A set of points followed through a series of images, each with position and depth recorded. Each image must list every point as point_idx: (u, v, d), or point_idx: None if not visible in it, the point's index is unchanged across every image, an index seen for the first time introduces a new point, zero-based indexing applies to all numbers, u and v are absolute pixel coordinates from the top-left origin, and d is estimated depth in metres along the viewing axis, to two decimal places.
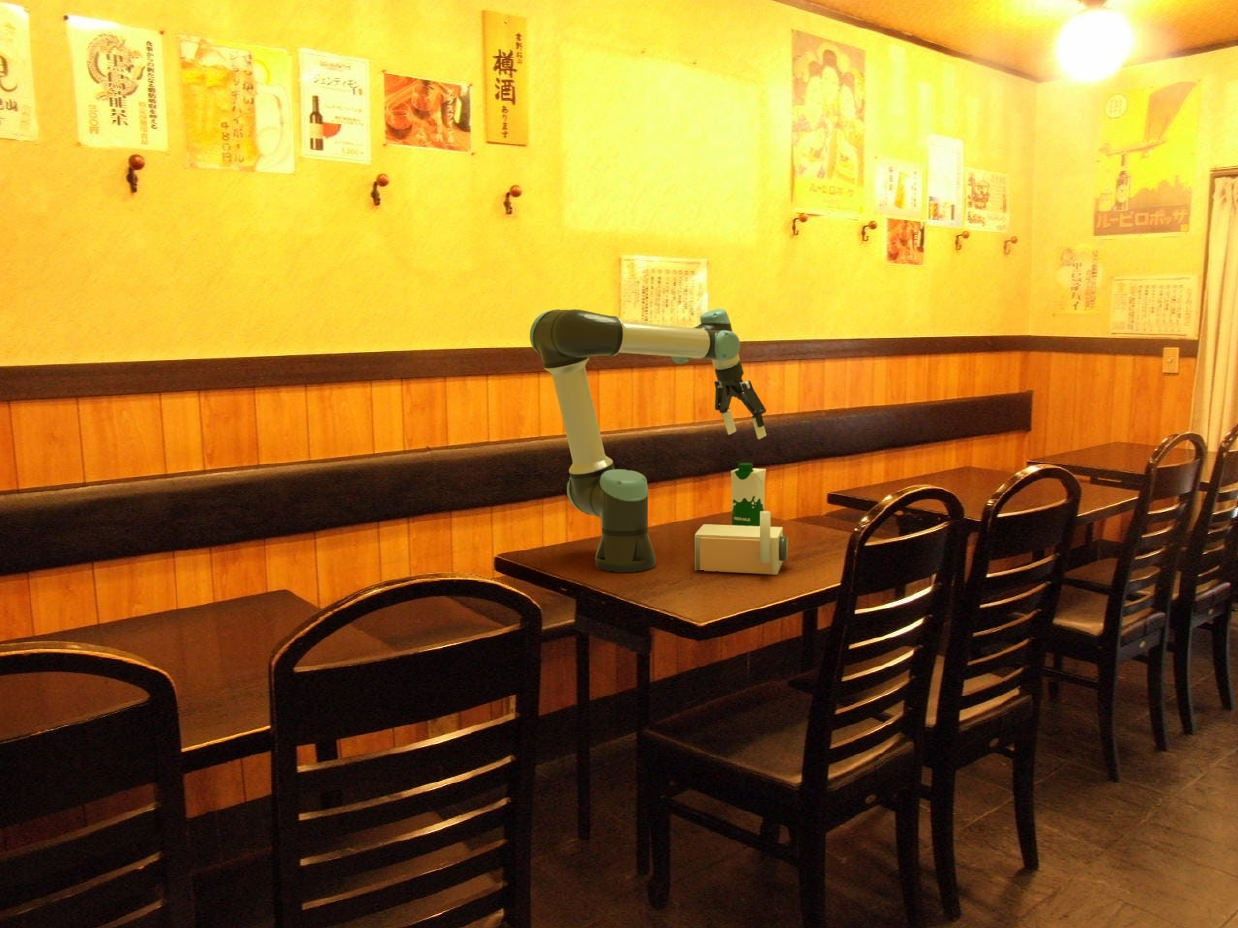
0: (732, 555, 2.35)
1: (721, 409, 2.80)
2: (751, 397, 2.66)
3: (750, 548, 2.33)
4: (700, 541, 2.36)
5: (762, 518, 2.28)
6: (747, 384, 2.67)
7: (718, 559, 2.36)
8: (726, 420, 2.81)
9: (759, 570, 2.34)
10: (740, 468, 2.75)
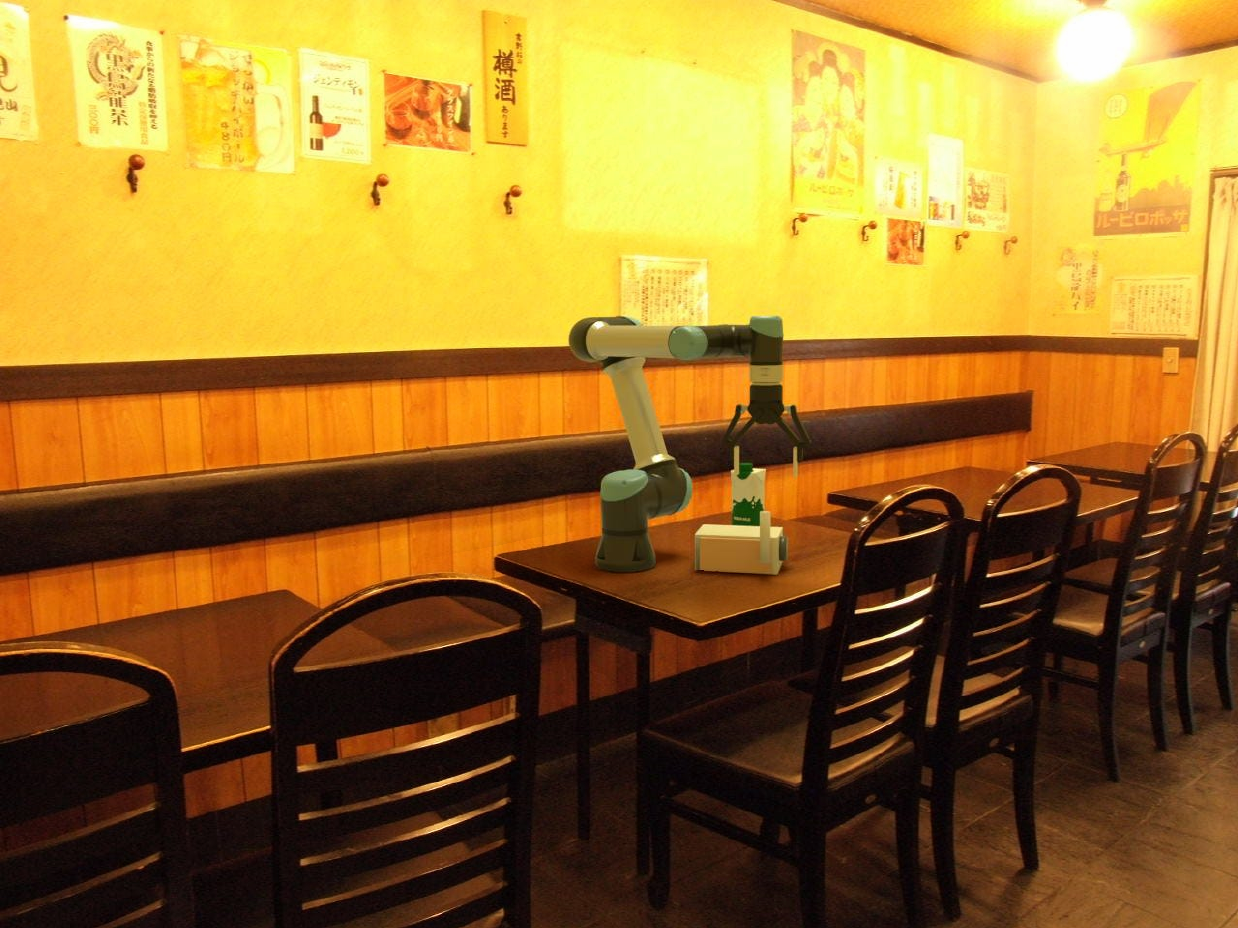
0: (732, 555, 2.35)
1: None
2: None
3: (750, 548, 2.33)
4: (700, 541, 2.36)
5: (762, 518, 2.28)
6: None
7: (718, 559, 2.36)
8: None
9: (759, 570, 2.34)
10: (740, 468, 2.75)
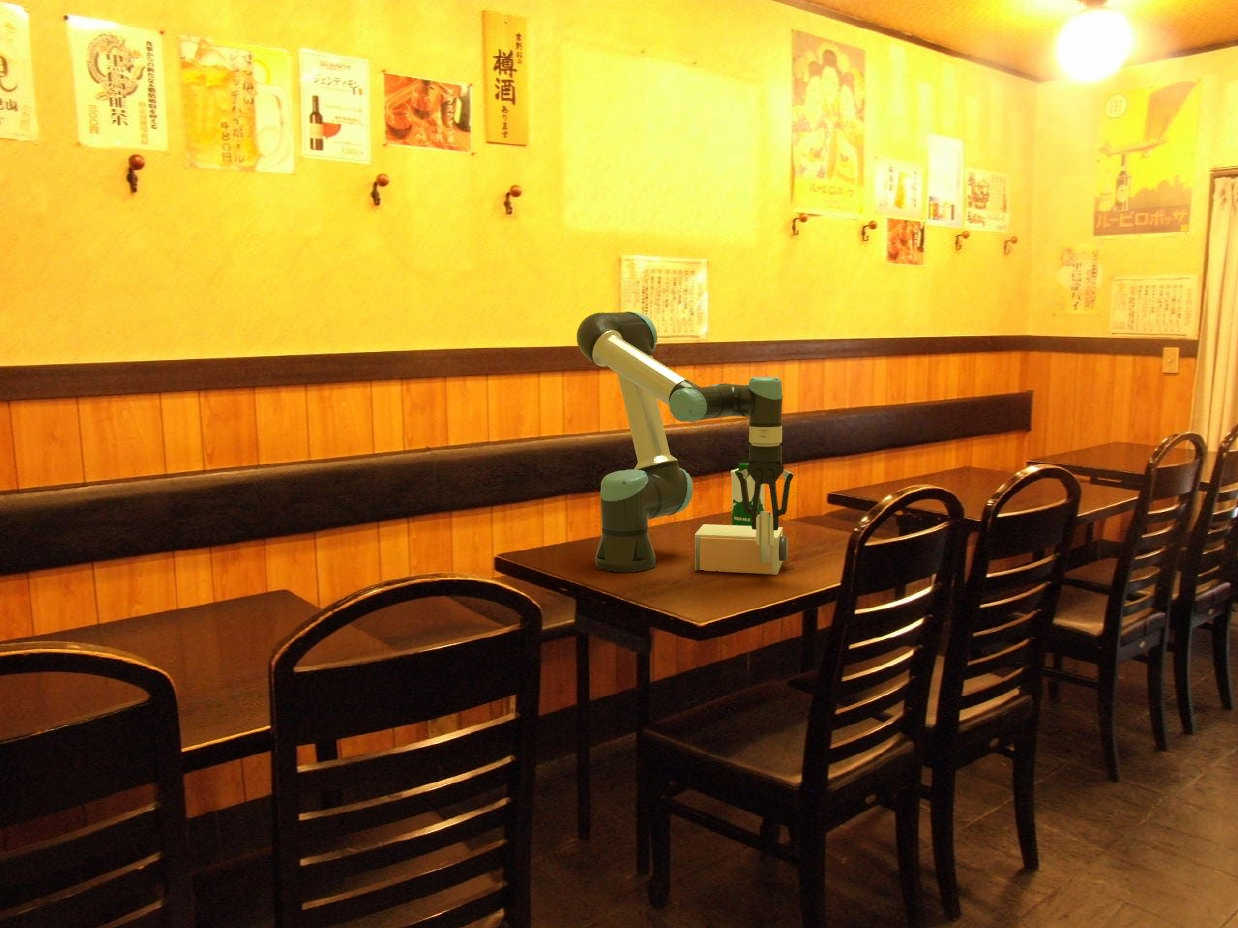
0: (732, 555, 2.35)
1: None
2: None
3: (750, 548, 2.33)
4: (700, 541, 2.36)
5: (762, 518, 2.28)
6: None
7: (718, 559, 2.36)
8: None
9: (759, 570, 2.34)
10: (740, 468, 2.75)
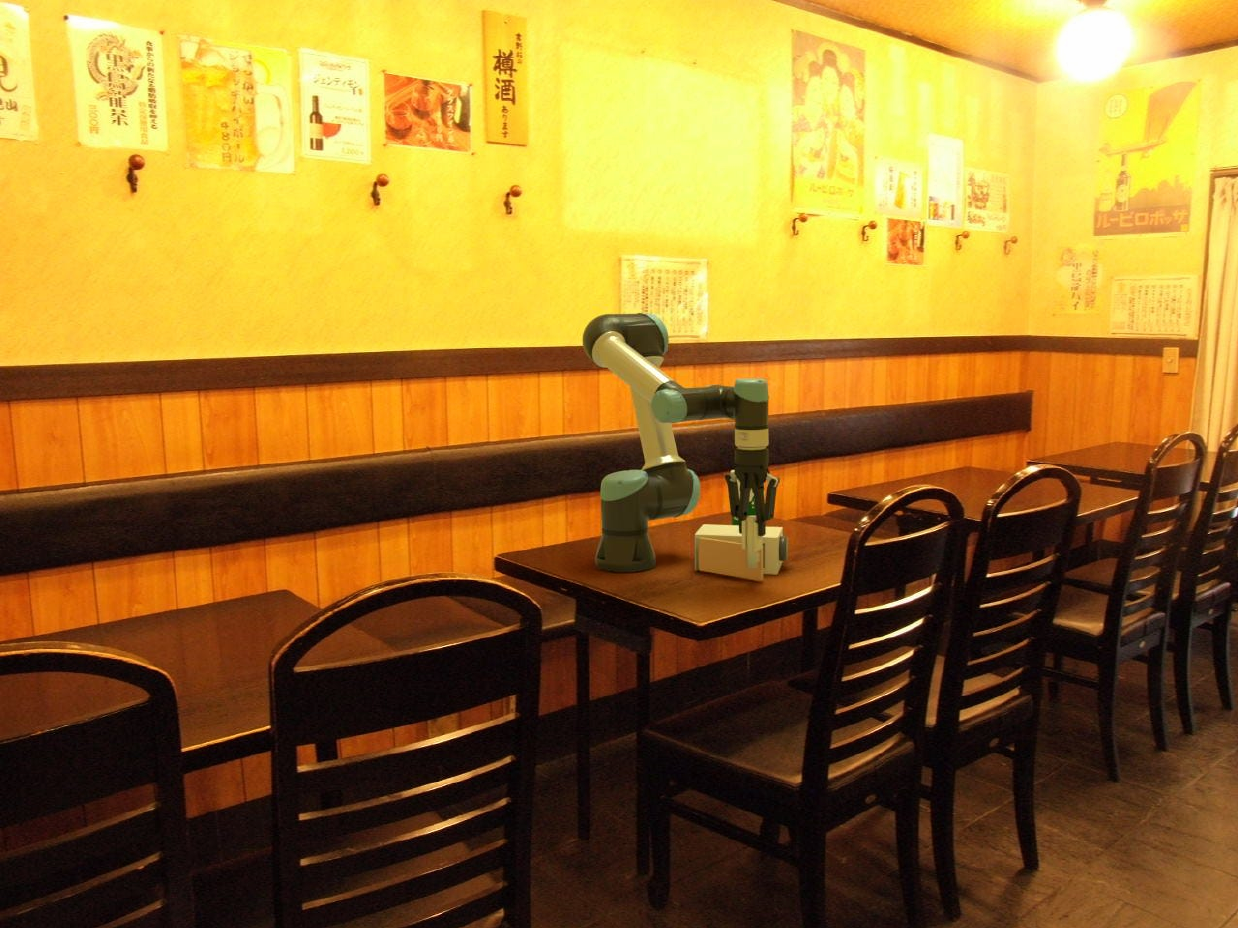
0: (727, 558, 2.32)
1: None
2: None
3: (743, 552, 2.29)
4: (699, 541, 2.36)
5: (748, 523, 2.23)
6: None
7: (715, 561, 2.34)
8: None
9: (751, 576, 2.29)
10: None
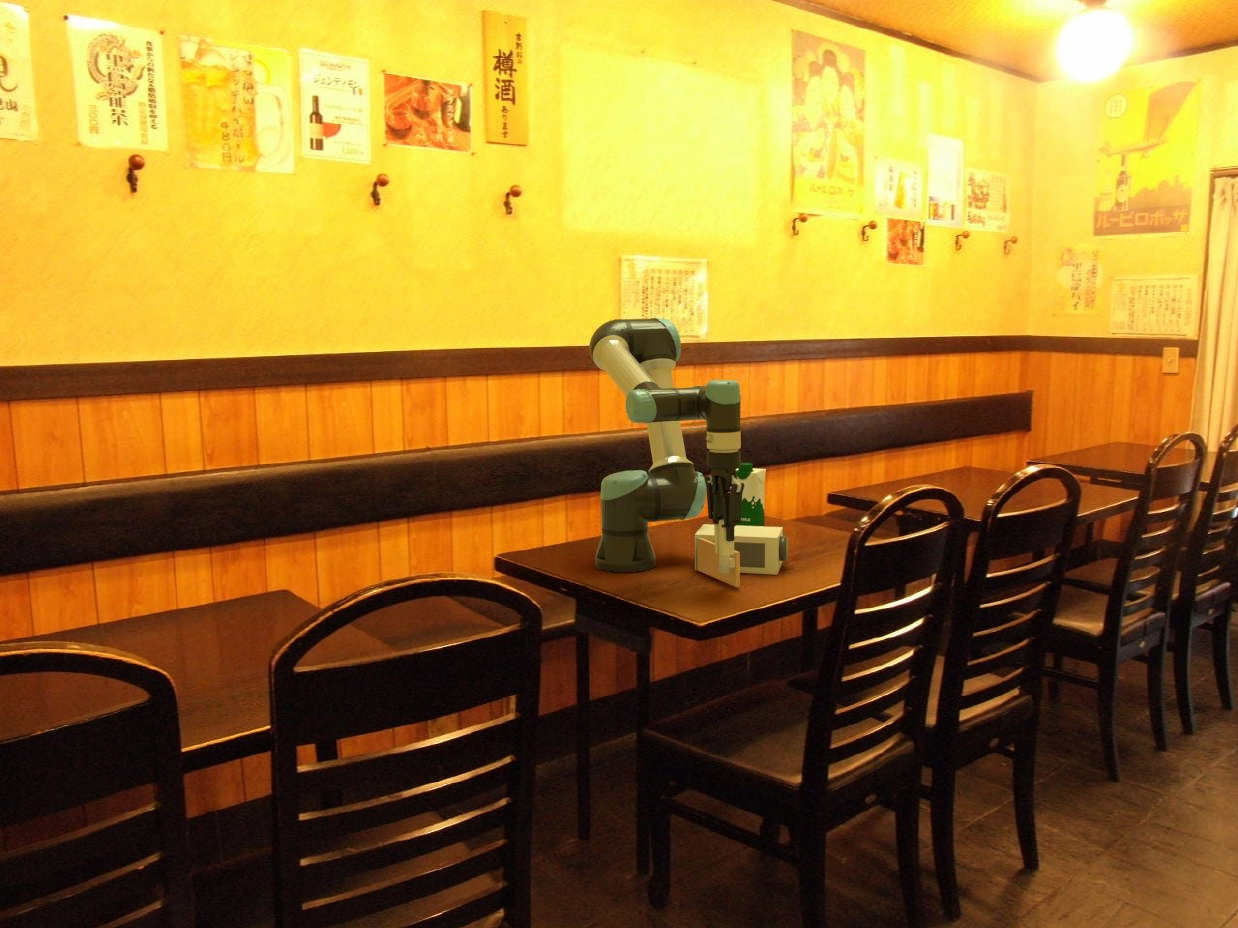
0: (714, 560, 2.30)
1: None
2: None
3: None
4: (697, 541, 2.36)
5: (719, 526, 2.20)
6: None
7: (707, 562, 2.33)
8: None
9: (729, 581, 2.25)
10: (740, 468, 2.75)
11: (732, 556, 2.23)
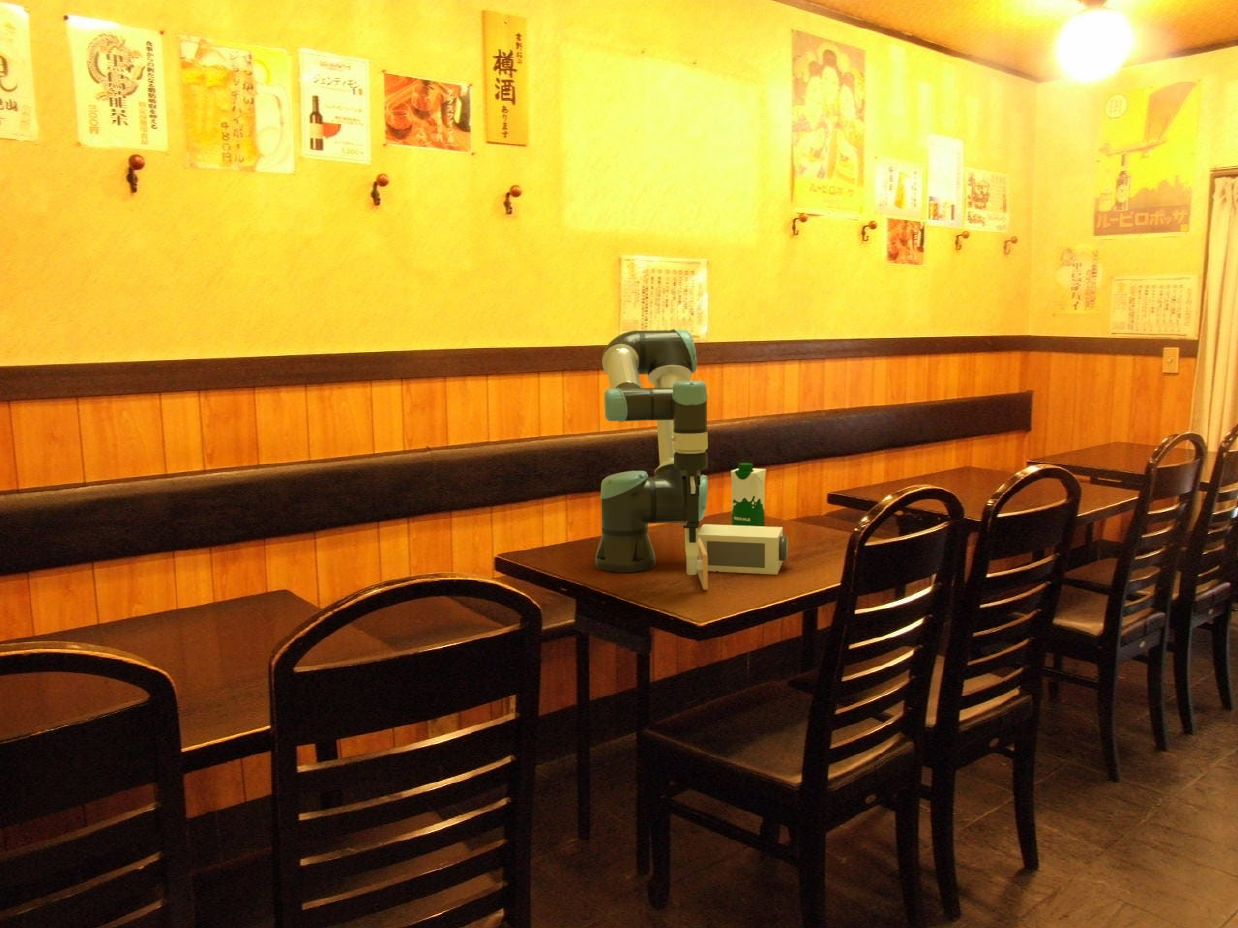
0: None
1: None
2: None
3: (701, 558, 2.25)
4: None
5: None
6: None
7: None
8: None
9: (702, 583, 2.23)
10: (740, 468, 2.75)
11: (702, 558, 2.21)
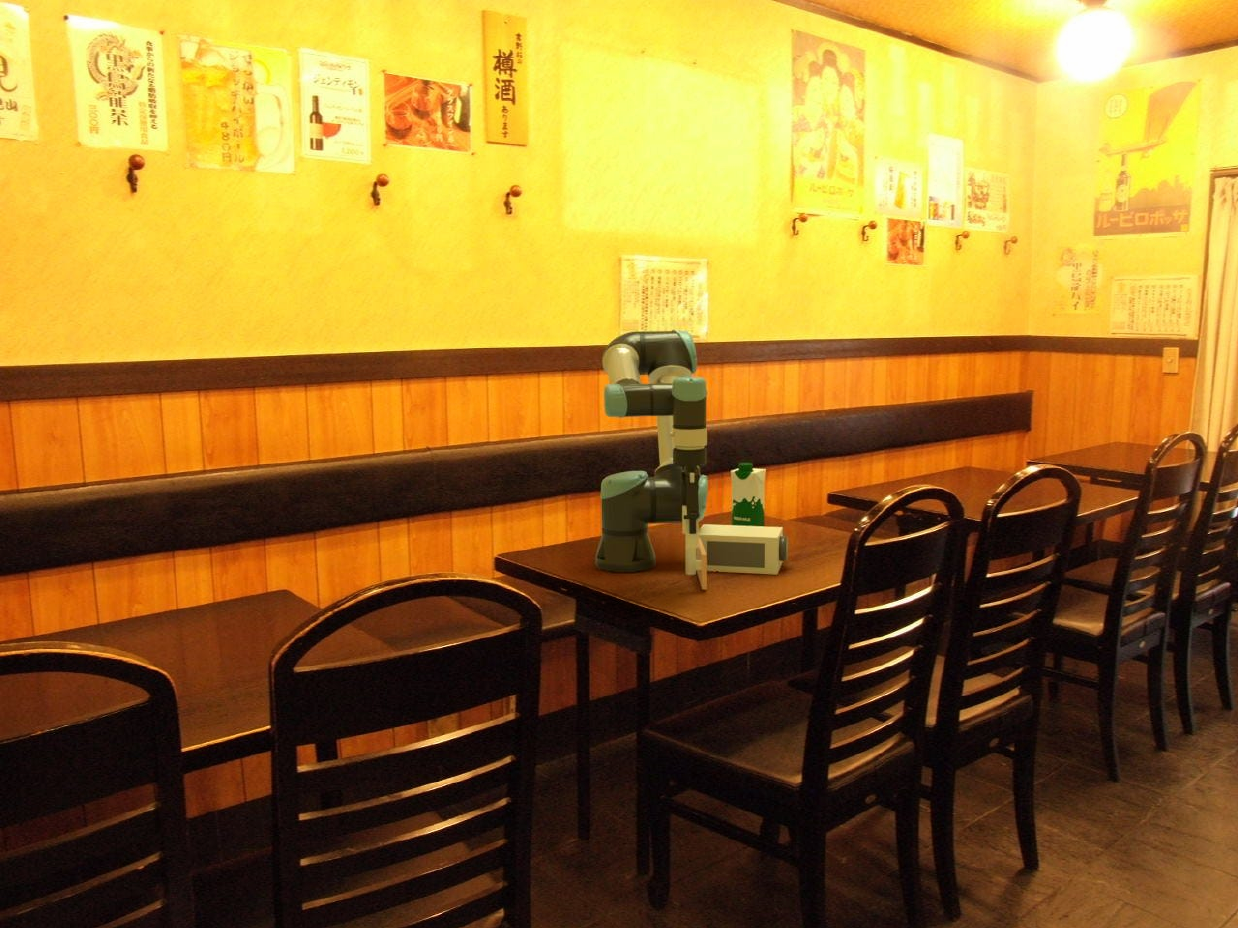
0: None
1: None
2: None
3: (700, 558, 2.25)
4: None
5: None
6: None
7: None
8: None
9: (701, 583, 2.23)
10: (740, 468, 2.75)
11: (701, 558, 2.21)
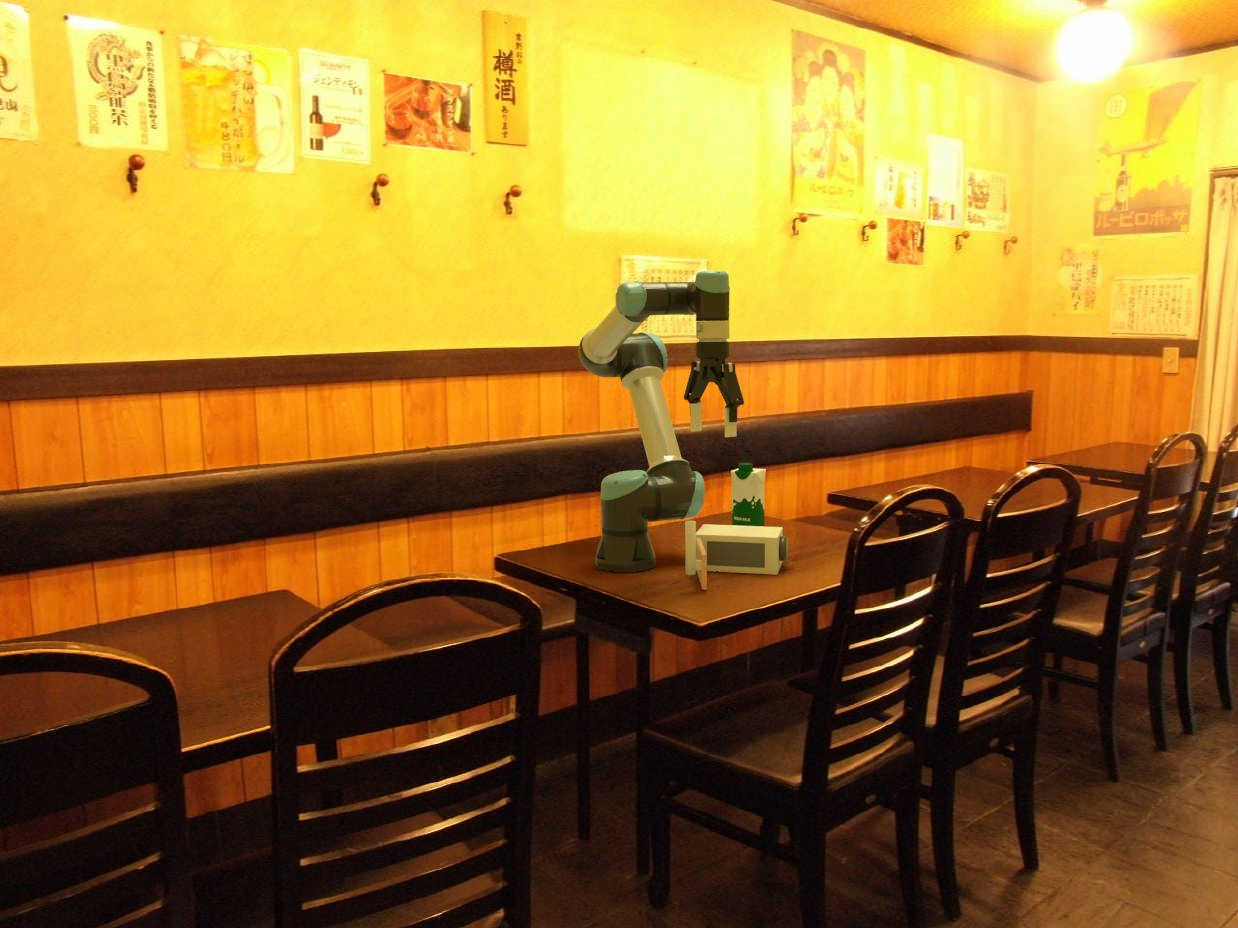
0: None
1: None
2: None
3: (700, 558, 2.25)
4: (696, 541, 2.36)
5: None
6: None
7: None
8: None
9: (701, 583, 2.23)
10: (740, 468, 2.75)
11: (701, 558, 2.21)
